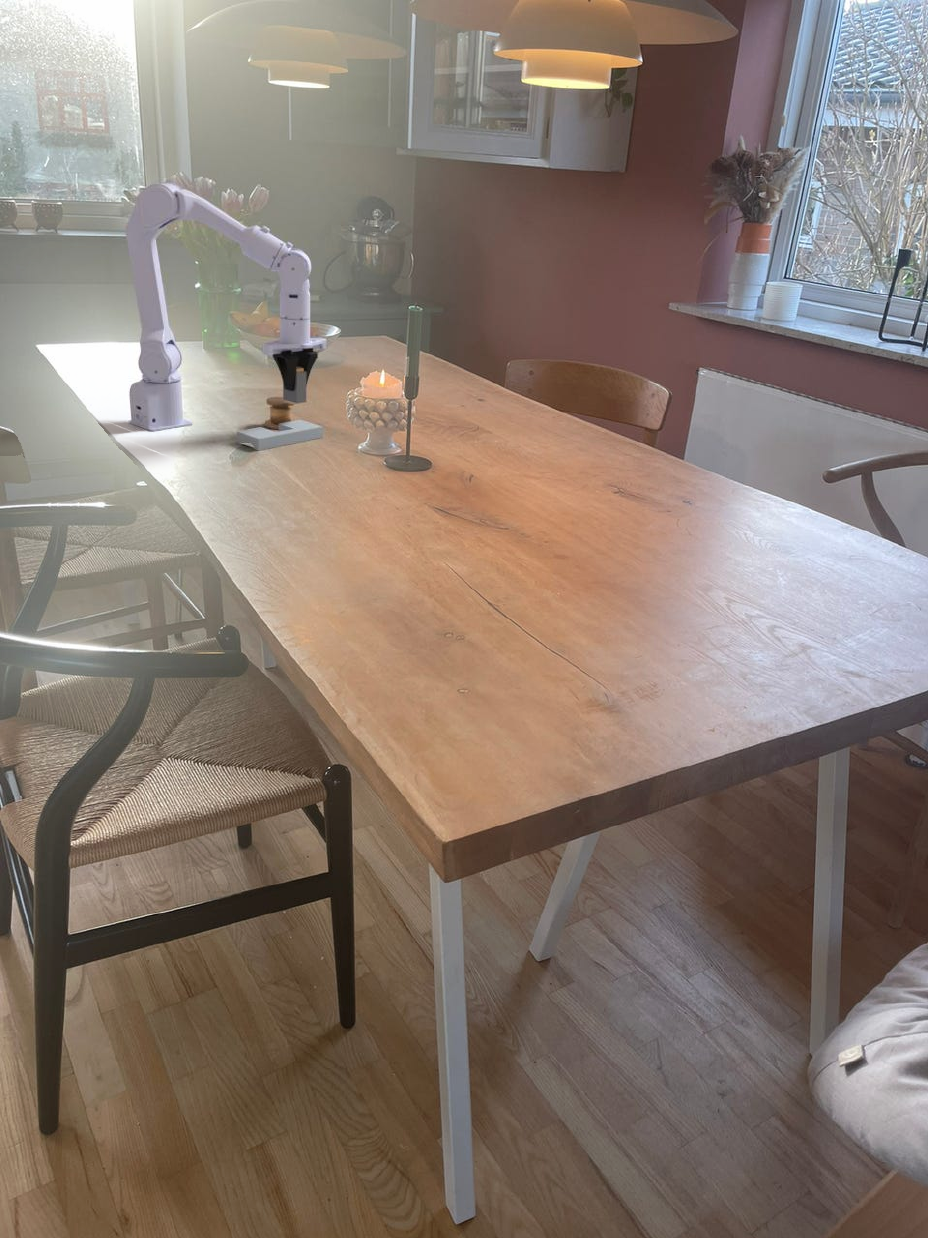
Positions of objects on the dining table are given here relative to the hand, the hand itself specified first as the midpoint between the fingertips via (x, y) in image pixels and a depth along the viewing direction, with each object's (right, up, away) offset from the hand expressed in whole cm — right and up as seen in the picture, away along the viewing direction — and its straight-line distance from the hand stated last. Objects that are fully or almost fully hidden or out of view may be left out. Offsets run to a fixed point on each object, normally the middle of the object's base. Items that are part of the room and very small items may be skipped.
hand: (295, 388), depth 187 cm
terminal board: (-3, -11, -3) cm, 11 cm away
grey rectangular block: (0, -2, +1) cm, 2 cm away
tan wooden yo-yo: (-4, -6, +7) cm, 10 cm away
